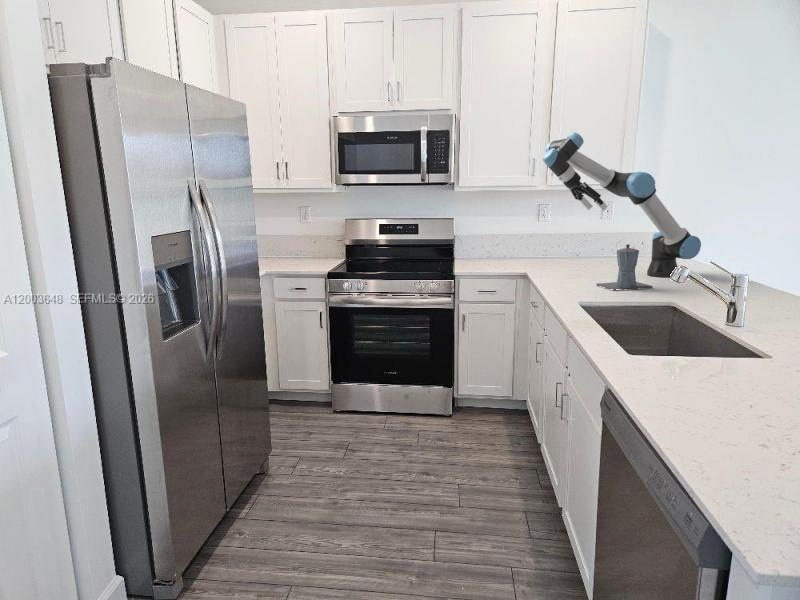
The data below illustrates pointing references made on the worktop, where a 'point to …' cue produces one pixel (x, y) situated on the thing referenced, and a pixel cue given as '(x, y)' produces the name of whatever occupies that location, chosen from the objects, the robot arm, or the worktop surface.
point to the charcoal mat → (614, 287)
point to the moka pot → (627, 267)
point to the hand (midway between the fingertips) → (597, 208)
